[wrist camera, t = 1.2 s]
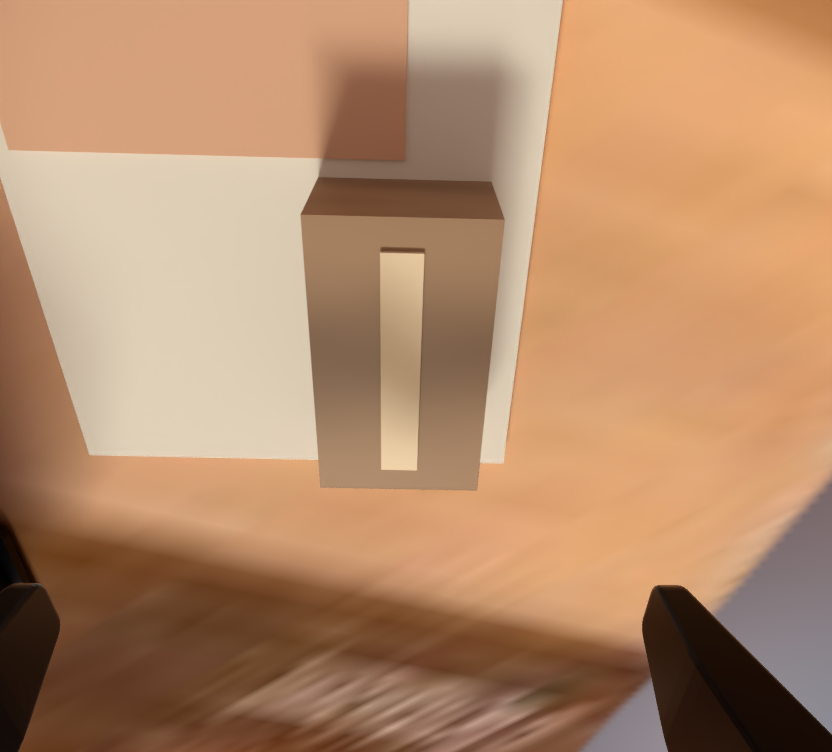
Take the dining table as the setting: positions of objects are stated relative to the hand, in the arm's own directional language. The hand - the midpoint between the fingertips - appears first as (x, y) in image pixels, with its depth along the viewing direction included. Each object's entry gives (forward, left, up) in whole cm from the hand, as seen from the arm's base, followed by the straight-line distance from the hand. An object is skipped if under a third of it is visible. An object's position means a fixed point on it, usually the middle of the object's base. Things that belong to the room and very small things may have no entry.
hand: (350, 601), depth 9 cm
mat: (+2, +3, -11) cm, 12 cm away
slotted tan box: (-1, -1, -10) cm, 11 cm away
